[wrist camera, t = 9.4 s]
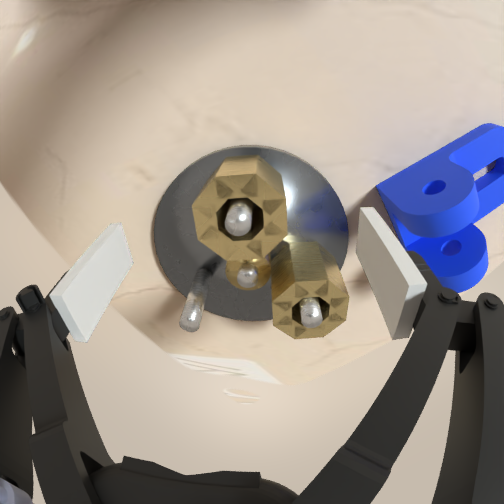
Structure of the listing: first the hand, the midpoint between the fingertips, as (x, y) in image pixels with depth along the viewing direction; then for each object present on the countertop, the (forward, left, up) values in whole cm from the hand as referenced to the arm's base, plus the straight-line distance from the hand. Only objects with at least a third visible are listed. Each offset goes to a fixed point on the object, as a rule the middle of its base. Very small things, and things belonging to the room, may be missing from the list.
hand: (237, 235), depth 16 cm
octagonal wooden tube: (+1, 0, -10) cm, 10 cm away
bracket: (0, +21, -11) cm, 24 cm away
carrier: (+6, 0, -11) cm, 12 cm away
